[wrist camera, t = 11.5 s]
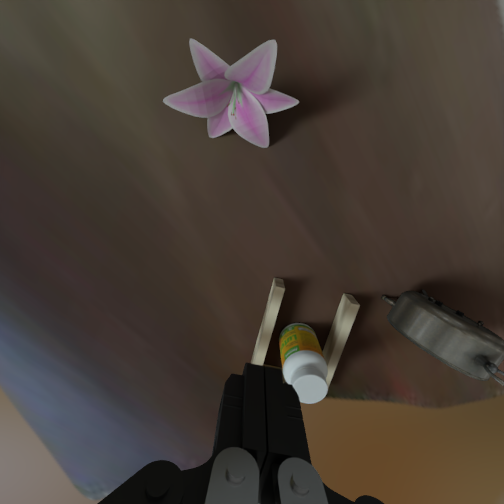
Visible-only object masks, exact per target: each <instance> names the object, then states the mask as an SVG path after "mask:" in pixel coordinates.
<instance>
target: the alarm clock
mask: <svg viewBox="0 0 504 504" xmlns="http://www.w3.org/2000/svg"><path fill="white" fill-rule="evenodd" d="M422 293H423V294H421V293H418V292H415V291H406V292H404V293H402V294H401V296H400V297H399V299H398V300H397V302H395V301H393V300H391V299H389V298H387V297H386V296H385V295H383V296H382V297H381V298H382V299H383V300H385V301H386V302H387V303H389V304H390V305H392V306H393V308H392V309H391V311H390V312H389V314H388V315H387V319H388V321H389V322H390V323H391V325H392V326H393V327H394V328H395V329H396V330H397V331H399V332H400V333H401V334H402V335H403V336H405V337H406V338H407V339H409V340H410V341H411V342H413V343H414V344H415V345H417V346H418V347H419V348H421V349H423V350H424V351H426V352H427V353H429V354H430V355H432V356H433V357H435V358H437V359H438V360H440V361H441V362H443V363H445V364H447V365H448V366H450V367H452V368H453V369H455V370H457V371H459V372H461V373H463V374H465V375H467V376H470V377H472V378H475V379H478V380H482V381H487V380H489V378H490V376H491V377H492V378H494V379H495V380H496V381H498V382H499V383H500V384H502V385H503V386H504V381H502V380H501V379H500V378H498V377H497V376H495V375H494V374H493V373H496V372H498V373H500V374H502V375H503V376H504V372H502V371H501V370H499V369H498V368H497V367H498V366H499V365H500V363H501V362H502V361H503V360H504V340H503V339H502V338H501V337H499V336H498V335H496V334H495V333H493V332H492V331H490V330H489V329H487V328H485V327H483V326H482V325H483V324H484V323H483V322H482V321H479V322H478V323H476V322H475V321H473V320H471V319H470V318H468V317H466V316H464V313H462V312H460V311H455V310H453V309H451V308H449V307H447V306H445V305H443V303H442V302H440V301H438V300H437V301H436V300H434V298H433V297H428V295H427V293H426V291H425V290H422Z"/></svg>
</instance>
